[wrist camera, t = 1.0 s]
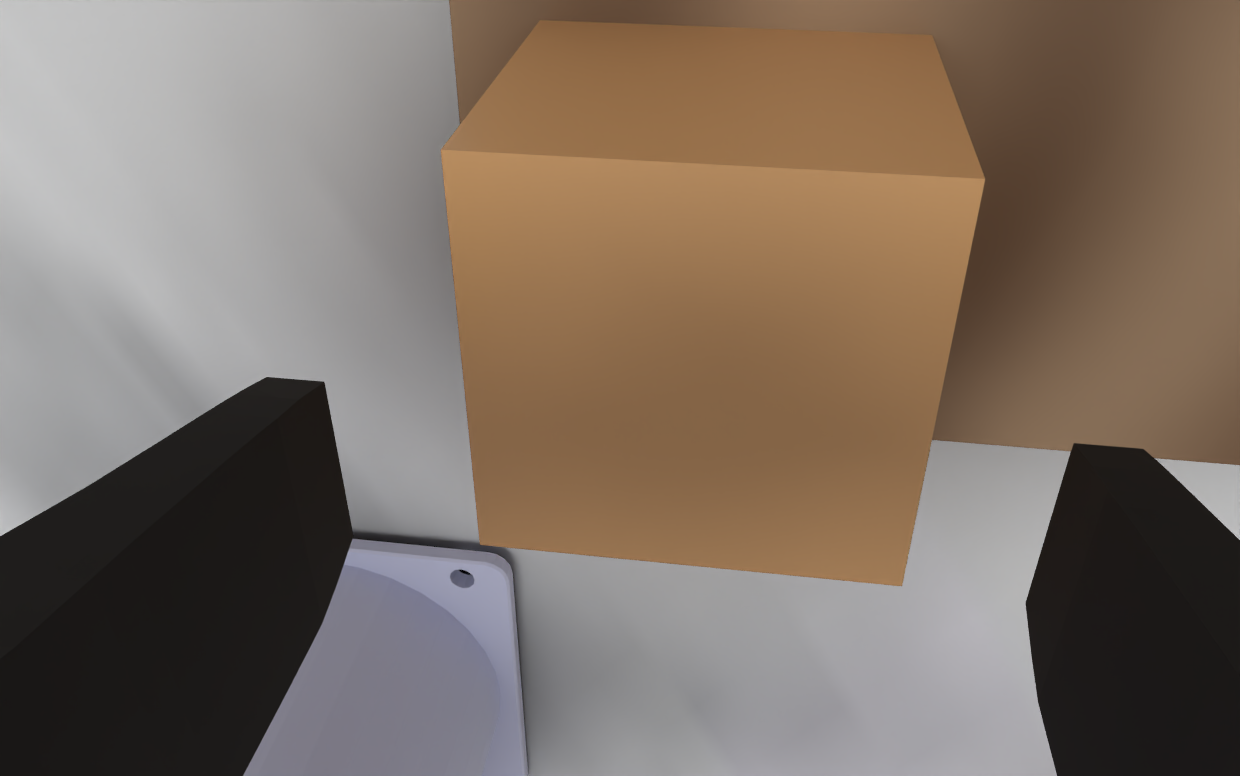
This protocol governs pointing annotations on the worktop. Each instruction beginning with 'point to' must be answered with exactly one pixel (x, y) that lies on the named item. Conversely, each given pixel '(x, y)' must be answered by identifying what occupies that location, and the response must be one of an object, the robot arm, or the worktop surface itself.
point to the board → (1045, 201)
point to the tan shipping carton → (709, 292)
